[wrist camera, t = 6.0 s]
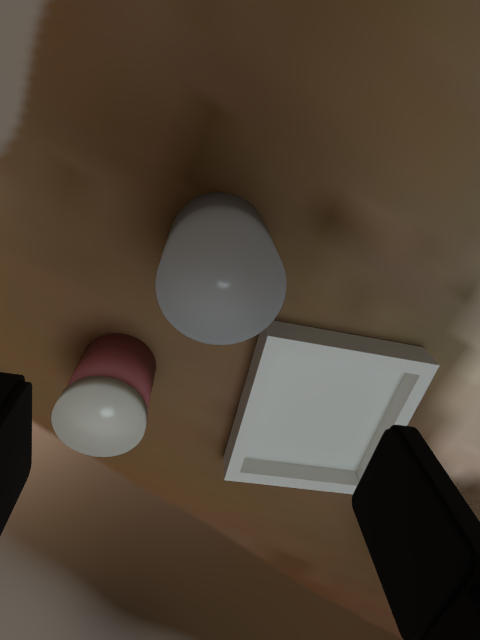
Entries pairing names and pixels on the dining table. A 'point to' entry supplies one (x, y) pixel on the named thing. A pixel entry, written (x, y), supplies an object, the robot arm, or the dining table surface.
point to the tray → (321, 406)
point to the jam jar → (107, 397)
